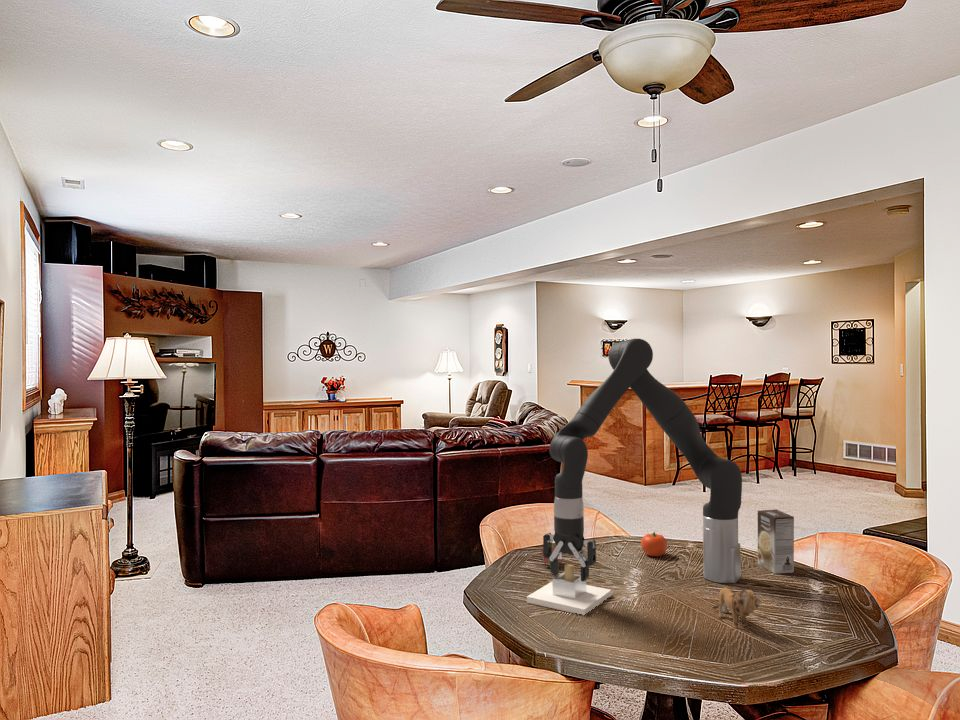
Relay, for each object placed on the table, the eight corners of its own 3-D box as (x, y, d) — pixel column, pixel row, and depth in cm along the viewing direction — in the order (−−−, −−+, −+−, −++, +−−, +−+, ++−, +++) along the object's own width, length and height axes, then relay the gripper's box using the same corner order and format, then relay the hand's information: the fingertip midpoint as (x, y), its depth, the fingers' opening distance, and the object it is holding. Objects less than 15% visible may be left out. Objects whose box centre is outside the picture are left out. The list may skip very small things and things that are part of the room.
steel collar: (586, 591, 174) (586, 576, 174) (575, 599, 169) (575, 583, 169) (564, 587, 178) (564, 572, 178) (552, 594, 173) (552, 578, 173)
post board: (611, 595, 176) (611, 562, 176) (584, 615, 162) (584, 580, 162) (556, 584, 185) (556, 553, 185) (526, 602, 171) (526, 568, 171)
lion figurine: (764, 631, 152) (764, 591, 152) (745, 635, 151) (744, 594, 150) (721, 608, 166) (721, 572, 166) (703, 611, 164) (703, 574, 164)
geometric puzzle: (530, 557, 202) (542, 538, 199) (544, 552, 207) (556, 534, 204) (545, 575, 199) (558, 557, 195) (559, 570, 204) (572, 551, 200)
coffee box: (756, 564, 200) (756, 509, 200) (776, 563, 201) (776, 508, 201) (774, 574, 191) (774, 517, 191) (795, 572, 192) (795, 516, 192)
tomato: (666, 559, 206) (666, 535, 205) (639, 557, 208) (639, 533, 208) (668, 552, 213) (668, 529, 213) (642, 550, 215) (641, 527, 215)
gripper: (600, 514, 172) (601, 578, 173) (551, 507, 180) (551, 569, 181) (588, 520, 166) (588, 587, 166) (537, 513, 174) (537, 577, 174)
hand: (569, 577), depth 173 cm, fingers open, 7 cm apart
